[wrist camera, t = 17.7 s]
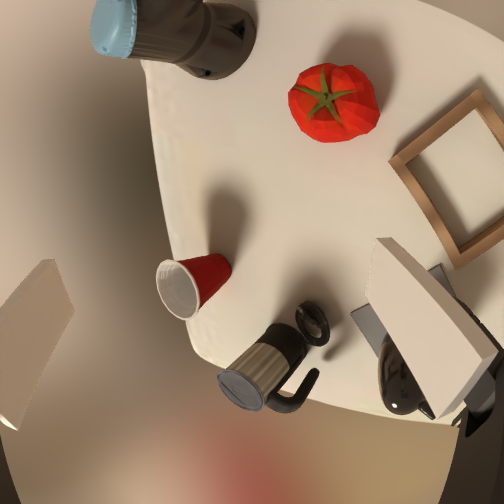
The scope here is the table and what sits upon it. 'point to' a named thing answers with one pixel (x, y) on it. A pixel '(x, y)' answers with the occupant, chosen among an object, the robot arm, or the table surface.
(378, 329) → the rubber mat
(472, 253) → the walnut collar
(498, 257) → the table surface
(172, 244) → the table surface
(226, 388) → the milk frother
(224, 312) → the table surface
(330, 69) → the tomato
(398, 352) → the pump dispenser
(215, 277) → the plastic cup
